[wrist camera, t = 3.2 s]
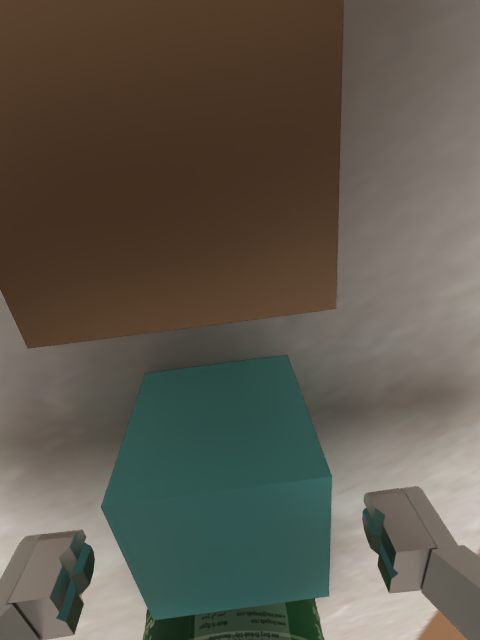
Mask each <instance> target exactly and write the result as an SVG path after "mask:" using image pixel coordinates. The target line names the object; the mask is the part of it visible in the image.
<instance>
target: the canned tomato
mask: <svg viewBox="0 0 480 640" xmlns="http://www.w3.org/2000/svg"><path fill="white" fill-rule="evenodd" d="M143 640H324V637H323V633H322V630H321V625H320V617H319V615H318V611H317V607H316V603H315V598H312V599H305V600H298V601H290V602H283V603H276V604H269V605H261V606H254V607H247V608H239V609H232V610H225V611H218V612H210V613H203V614H196V615H189V616H181V617H174V618H167V619H160V620H153V618H152V616H151V614H150V612H149V610H148V609H147V614H146V626H145V630H144V635H143Z"/></svg>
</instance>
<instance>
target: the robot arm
mask: <svg viewBox="0 0 480 640" xmlns="http://www.w3.org/2000/svg"><path fill="white" fill-rule="evenodd" d="M364 503H365V505H366V508H365V509H364V511H363V517H362V520H363V526H364V531H365V534H366V537H367V540H368V542H369V545H370V548H371V549H373V550H374V551H375V552H376V553H377V554H378V555H379V558H378V567H379V570H380V572H381V575H382V577H383V580H384V582H385V584H386V587H387V589H388V592H389V593H398V592H409V591H419V590H422V593H423V594H424V596H425V597H426V598H427V599H428V600H429V601H430V602H431V603H432V604H433V605H434V606H435V607H436V608H437V609H438V610H439V611H440V612H441V613H442V614H443V615H444V616H445V617H446V618H447V619H448V620H449V621H450V622H451V623H452V624H453V625H454V626H455V627H456V628H457V629H458V630H459V631H460V632H461V633H462V634H463V635H464V637H465V638H467V640H480V557H479V556H478V555H477V554H475V553H474V552H473V551H471V550H470V549H468V548H467V547H466V546H464V545H461V546H458V544H457V543H456V541H455V540H454V538H453V537H452V535H451V534H450V532H449V530H448V529H447V527H446V526H445V524H444V523H443V521H442V520H441V518H440V516H439V515H438V513H437V512H436V510H435V509H434V507H433V506H432V504H431V503H430V501H429V499H428V498H427V496H426V495H425V493H424V492H423V490H422V489H421V488H419V487H417V486H414V487H407V488H400V489H399V488H396V489H389V490H383V491H376V492H369V493H366V494H365V495H364ZM85 539H86V535H85V534H84V532H83V530H74V531H66V532H58V533H49V534H39V535H31V536H26V537H25V538H24V539H23V540H22V541H21V542H20V543H19V545H18V547H17V549H16V550H15V552H14V554H13V556H12V558H11V560H10V562H9V564H8V566H7V567H6V569H5V571H4V573H3V575H2V577H1V579H0V640H47V639H53V638H59V637H65V636H71V635H74V634H75V630H76V627H77V624H78V621H79V618H80V614H81V611H82V608H83V605H84V603H83V599H82V596H81V594H82V593H83V592H84V591H85V589H86V588H87V587H88V586H89V585H90V582H91V578H92V575H93V570H94V561H95V559H94V552H93V549H92V547H91V546H90V545H88V544H86V543H84V542H85Z"/></svg>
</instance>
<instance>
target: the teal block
mask: <svg viewBox="0 0 480 640" xmlns="http://www.w3.org/2000/svg"><path fill="white" fill-rule="evenodd" d="M331 489H332V476H331V473H330V470H329V468H328V465H327V462H326V459H325V457H324V454H323V451H322V448H321V446H320V443H319V440H318V438H317V435H316V432H315V429H314V427H313V424H312V421H311V419H310V416H309V413H308V410H307V408H306V405H305V402H304V400H303V397H302V394H301V391H300V389H299V386H298V383H297V380H296V378H295V375H294V372H293V370H292V367H291V364H290V361H289V359H288V356H287V355H284V356H276V357H268V358H260V359H252V360H245V361H237V362H229V363H221V364H214V365H206V366H198V367H190V368H182V369H175V370H167V371H159V372H151V373H145V376H144V379H143V382H142V385H141V388H140V391H139V394H138V397H137V400H136V403H135V406H134V409H133V412H132V415H131V418H130V421H129V424H128V427H127V430H126V433H125V436H124V439H123V442H122V445H121V448H120V451H119V454H118V457H117V460H116V463H115V466H114V469H113V472H112V475H111V478H110V481H109V484H108V487H107V490H106V493H105V496H104V499H103V502H102V505H101V508H102V511H103V513H104V515H105V517H106V519H107V521H108V524H109V526H110V528H111V530H112V532H113V534H114V536H115V539H116V541H117V543H118V545H119V547H120V549H121V552H122V554H123V556H124V558H125V560H126V562H127V565H128V567H129V569H130V571H131V573H132V575H133V577H134V580H135V582H136V584H137V586H138V588H139V590H140V593H141V595H142V597H143V599H144V601H145V603H146V606H147V608H148V610H149V612H150V614H151V616H152V618H153V620H160V619H167V618H174V617H181V616H189V615H196V614H203V613H210V612H218V611H225V610H232V609H239V608H247V607H254V606H261V605H269V604H276V603H283V602H290V601H298V600H305V599H312V598H319V597H327V596H329V569H330V529H331Z"/></svg>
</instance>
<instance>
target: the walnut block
mask: <svg viewBox="0 0 480 640" xmlns="http://www.w3.org/2000/svg"><path fill="white" fill-rule="evenodd" d="M343 7H344V0H0V290H1V292H2V294H3V296H4V298H5V300H6V303H7V305H8V307H9V309H10V311H11V313H12V315H13V318H14V320H15V322H16V324H17V326H18V328H19V330H20V333H21V335H22V337H23V339H24V341H25V343H26V345H27V348H36V347H43V346H51V345H59V344H67V343H75V342H83V341H90V340H98V339H106V338H114V337H122V336H129V335H137V334H145V333H153V332H161V331H169V330H176V329H184V328H192V327H200V326H208V325H216V324H223V323H231V322H239V321H247V320H255V319H262V318H270V317H278V316H286V315H294V314H302V313H309V312H317V311H325V310H333V309H336V295H337V254H338V213H339V171H340V130H341V89H342V48H343Z"/></svg>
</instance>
